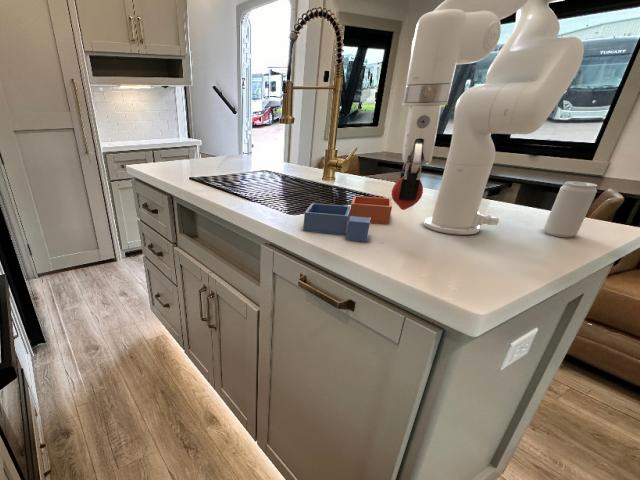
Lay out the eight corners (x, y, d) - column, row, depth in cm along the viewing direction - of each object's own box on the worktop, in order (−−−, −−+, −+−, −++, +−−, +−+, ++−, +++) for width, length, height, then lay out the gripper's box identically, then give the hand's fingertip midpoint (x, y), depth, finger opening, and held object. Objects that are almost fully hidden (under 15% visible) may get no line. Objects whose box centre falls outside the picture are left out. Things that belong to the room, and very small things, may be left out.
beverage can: (570, 232, 88) (593, 181, 83) (579, 239, 83) (604, 186, 77) (539, 228, 91) (559, 179, 85) (546, 236, 86) (568, 184, 80)
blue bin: (348, 223, 95) (351, 206, 93) (344, 234, 87) (347, 216, 84) (310, 219, 98) (311, 203, 96) (303, 230, 90) (304, 212, 87)
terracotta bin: (388, 214, 103) (391, 198, 101) (388, 224, 94) (392, 206, 92) (351, 211, 106) (354, 195, 104) (348, 220, 97) (351, 203, 95)
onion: (413, 206, 78) (421, 167, 74) (422, 213, 73) (431, 172, 69) (385, 206, 79) (392, 167, 75) (393, 213, 74) (400, 172, 70)
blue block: (367, 236, 86) (370, 217, 84) (366, 242, 82) (369, 222, 80) (347, 234, 87) (350, 215, 85) (346, 239, 83) (349, 220, 81)
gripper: (456, 96, 57) (430, 208, 66) (443, 95, 71) (422, 188, 80) (405, 97, 60) (386, 205, 69) (402, 96, 74) (387, 186, 83)
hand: (406, 195), depth 74 cm, fingers closed on onion, 5 cm apart
